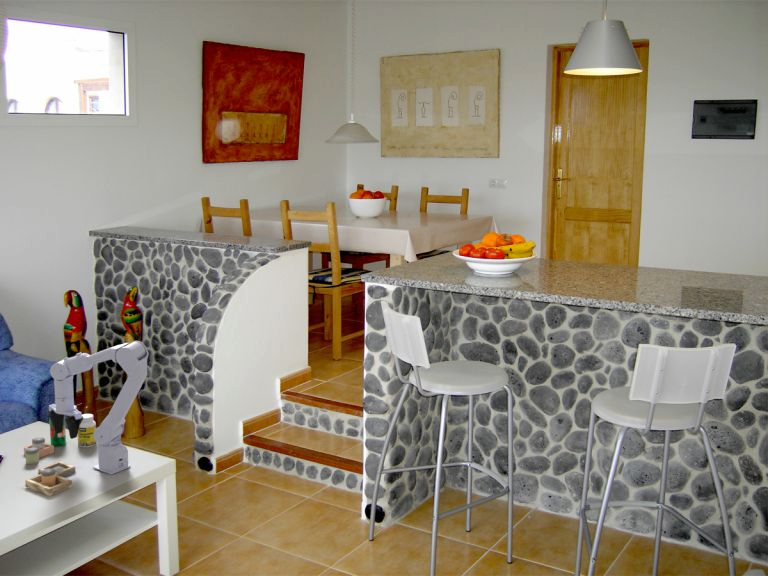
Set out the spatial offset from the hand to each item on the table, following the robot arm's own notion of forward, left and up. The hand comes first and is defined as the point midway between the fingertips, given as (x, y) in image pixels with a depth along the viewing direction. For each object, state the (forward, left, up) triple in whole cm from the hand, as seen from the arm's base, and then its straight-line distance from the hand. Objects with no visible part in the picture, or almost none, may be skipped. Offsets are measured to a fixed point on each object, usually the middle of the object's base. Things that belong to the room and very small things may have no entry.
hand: (66, 435), depth 273 cm
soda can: (+16, -8, -10) cm, 21 cm away
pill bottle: (+8, -14, -10) cm, 19 cm away
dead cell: (+14, +1, -9) cm, 17 cm away
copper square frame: (+14, +1, -10) cm, 17 cm away
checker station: (-9, +11, -10) cm, 17 cm away
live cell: (-11, +15, -10) cm, 21 cm away
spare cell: (+9, +7, -10) cm, 15 cm away
